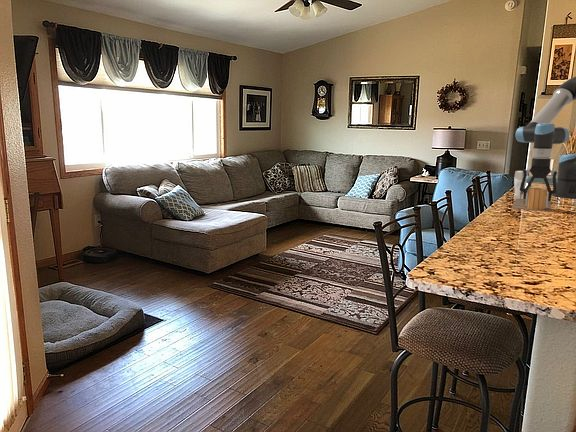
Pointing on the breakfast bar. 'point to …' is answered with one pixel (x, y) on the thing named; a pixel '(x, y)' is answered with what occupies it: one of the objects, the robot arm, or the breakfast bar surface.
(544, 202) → the collar
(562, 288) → the breakfast bar surface
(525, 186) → the silver metal piece
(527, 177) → the bar
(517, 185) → the beer glass
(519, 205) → the plate
